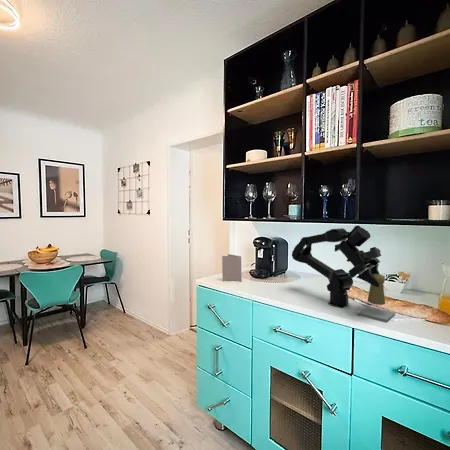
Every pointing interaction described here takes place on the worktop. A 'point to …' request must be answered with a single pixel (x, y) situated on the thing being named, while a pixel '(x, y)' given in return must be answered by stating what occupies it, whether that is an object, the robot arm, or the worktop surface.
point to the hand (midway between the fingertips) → (380, 285)
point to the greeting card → (231, 268)
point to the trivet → (376, 314)
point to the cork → (377, 291)
